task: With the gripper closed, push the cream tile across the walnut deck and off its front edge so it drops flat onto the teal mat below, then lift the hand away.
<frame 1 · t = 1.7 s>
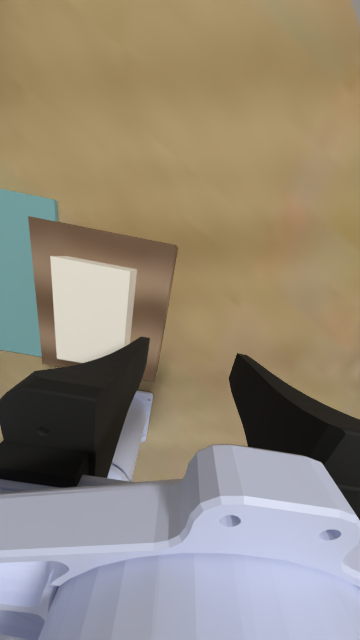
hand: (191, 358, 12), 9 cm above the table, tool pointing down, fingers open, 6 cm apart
tile: (100, 312, 17), point 4 cm above the table, touching deck
deck: (116, 301, 20), on the table
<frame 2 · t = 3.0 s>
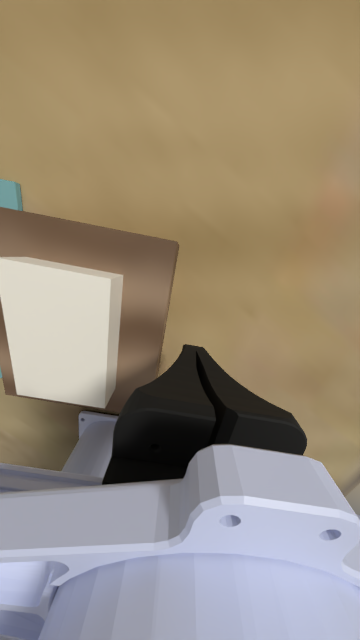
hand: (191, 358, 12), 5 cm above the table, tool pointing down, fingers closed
tile: (76, 331, 13), point 4 cm above the table, touching deck
deck: (101, 313, 16), on the table
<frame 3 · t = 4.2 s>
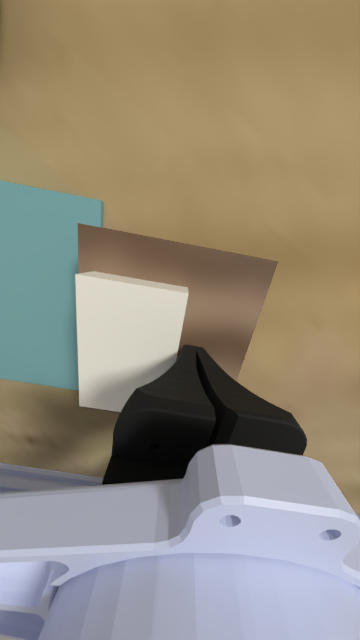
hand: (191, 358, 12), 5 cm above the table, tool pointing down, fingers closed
tile: (135, 342, 13), point 4 cm above the table
mat: (24, 300, 16), on the table
deck: (167, 325, 17), on the table
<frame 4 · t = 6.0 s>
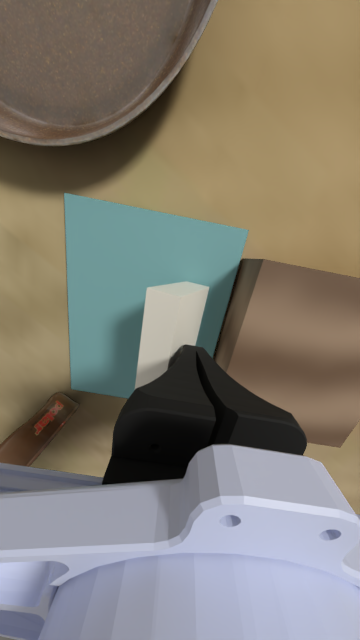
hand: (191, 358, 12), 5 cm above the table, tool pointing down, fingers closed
tile: (185, 350, 13), point 4 cm above the table, tilted 111°, touching mat
mat: (145, 321, 16), on the table
tin: (49, 416, 21), on the table, touching mat
deck: (281, 346, 17), on the table
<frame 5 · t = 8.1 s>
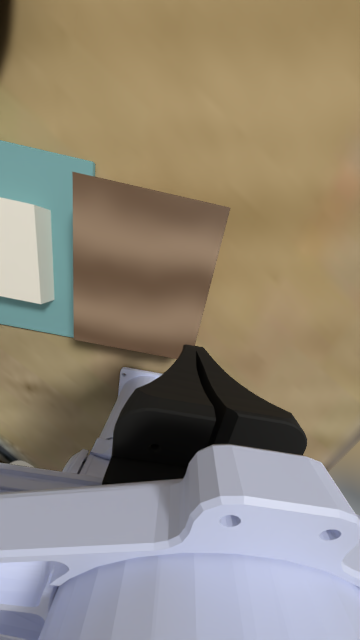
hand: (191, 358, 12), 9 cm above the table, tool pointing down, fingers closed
tile: (5, 252, 17), point 2 cm above the table, tilted 180°, touching mat
mat: (27, 252, 19), on the table
deck: (149, 277, 19), on the table
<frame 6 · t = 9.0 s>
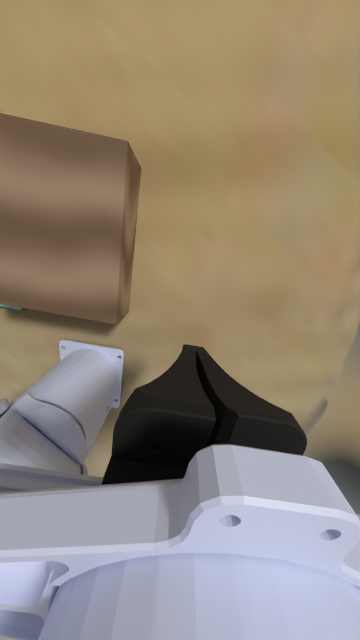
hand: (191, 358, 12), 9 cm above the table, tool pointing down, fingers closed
deck: (76, 238, 18), on the table
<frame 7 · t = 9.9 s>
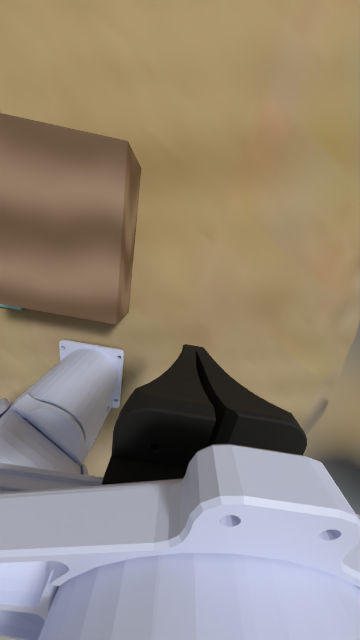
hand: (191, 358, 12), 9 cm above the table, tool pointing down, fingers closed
deck: (76, 238, 18), on the table
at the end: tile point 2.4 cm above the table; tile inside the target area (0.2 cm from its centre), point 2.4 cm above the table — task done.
